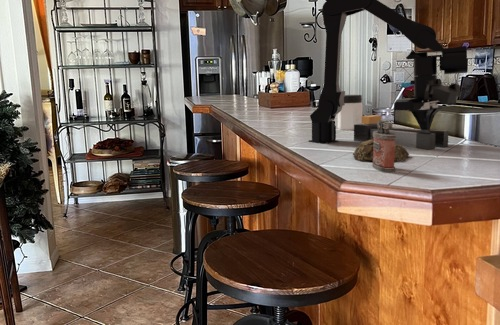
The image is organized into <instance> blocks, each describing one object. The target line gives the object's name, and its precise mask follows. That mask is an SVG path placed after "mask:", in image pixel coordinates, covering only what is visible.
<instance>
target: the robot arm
mask: <svg viewBox="0 0 500 325" xmlns="http://www.w3.org/2000/svg"><path fill="white" fill-rule="evenodd" d="M363 11H366V12H368V13H370V14H371V15H373V16H375V17H376V18H377V19H380V21H383V22H384V23H386V24H388V25H389V26H390V27H392V28H394V29H396V30H397V31H399V32H400V33H401V34H402V35H403V36H404V37H406V38H407V39H408V40H409V41H410V42H411V44H412V45H414V46H415V47H417V49H419V50H423V51H421V52H419V51H418V52H416V51H415V50H414V49H411V51H410V53H409V54H408V55H406V57H405V58H406V60H413V79H412V80H410V85H413V94H414V95H410V98H398V99H396V100H395V101H394V102H393V109H394V111H409V112H410V113H411V114H412V115H413V117H414V118H415V121H416V122H417V124H418V126H419V129H424V130H431V126H432V124H433V120H434V118H435V116H436V114H437V113H438V112H440V111H441V110H443V107H441V106H439V105H448V106H453V105H457V98H459V97H461V86H460V84H458V83H451V84H449V86H448V85H443V84H442V80H441V78H437V77H438V69H437V68H438V59H437V58H439V71H440V72H441V71H442V72H443V73H444V75H453V74H454V75H457V74H468V70H469V68H468V66H469V59H468V51H467V50H468V48H467V45H461V46H457V47H448V48H445V47H443V46H444V45H443V44H440V42H439V41H438V40H437V33H436V31H435V29H434V28H433V27H431V26H429V25H426V24H423V23H421V22H418V21H414V20H412V19H410V18H407V17H405V16H404V15H402V14H401V13H399V12H397V11H395V10H394V9H392V8H391V7H389V6H387V5H386V4H385V3H383V2H381V1H379V0H326V1H325V2H324V3H323V5H322V9H321V13H322V20H323V21H322V22H323V25H324V29H325V54H324V56H325V57H324V74H323V75H324V76H323V77H324V79H323V81H324V82H323V86H322V88H321V92H320V95H319V98H318V104H317V107H316V109H315V110H314V111H312V113H311V114H310V115H309V117H310V120H311V139H309V140H308V141H307V142H309V143H312V144H313V143H315V144H322V145H324V144H332V143H339V142H340V141H339V140H338V139H336V138H337V135H336V134H337V126H336V121H335V119H336V117H337V115H338V113H339V112H340V111H341V110H342V106H343V105H345V103H344V96H345V95H346V91H344V90H342V91H341V88H340V68H341V65H340V64H341V51H342V50H341V49H342V48H341V47H342V34H343V31H344V27H345V24H346V21H347V17H348V16H353V15H355V14H358V13H360V12H363ZM426 50H430V51H432V52H434V53H435V54H434V55H432V54H431V55H428V51H426ZM436 53H441V54H436Z"/></svg>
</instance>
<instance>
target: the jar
mask: <svg viewBox="0 0 500 325" xmlns="http://www.w3.org/2000/svg"><path fill="white" fill-rule="evenodd" d="M362 97H363V96H362V94H345V96H344V103H345V105H343V106H342V110H341V111H340V112H339V113H338V114H337V129H338V130H341V131H354V125H355V124H363V123H361V122H362V116H363V102H362V100H363V98H362Z"/></svg>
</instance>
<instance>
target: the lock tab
mask: <svg viewBox="0 0 500 325" xmlns="http://www.w3.org/2000/svg"><path fill="white" fill-rule="evenodd" d="M379 121H382V115H377V114H376V115H374V114H371V115H362V122H361V123H362V124H373V123H377V122H379Z"/></svg>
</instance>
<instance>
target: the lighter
mask: <svg viewBox="0 0 500 325" xmlns="http://www.w3.org/2000/svg"><path fill="white" fill-rule="evenodd" d="M377 126H378V131H373V136H374V151H373V161H372V163H371V164H372V168H373V169H374V170H377V171H378V172H382V173H389V174H391V173H395V172H396V167H395V162H394V150H395V139H396V134H394V133H391V132H389V129H392V128H393V127H394V125H393V123H392V122H389V120H381V121H379V122H377Z"/></svg>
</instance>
